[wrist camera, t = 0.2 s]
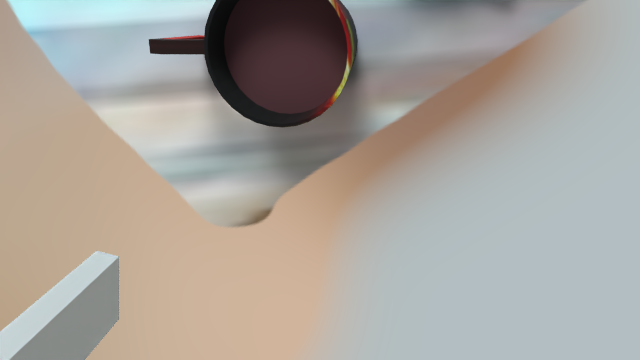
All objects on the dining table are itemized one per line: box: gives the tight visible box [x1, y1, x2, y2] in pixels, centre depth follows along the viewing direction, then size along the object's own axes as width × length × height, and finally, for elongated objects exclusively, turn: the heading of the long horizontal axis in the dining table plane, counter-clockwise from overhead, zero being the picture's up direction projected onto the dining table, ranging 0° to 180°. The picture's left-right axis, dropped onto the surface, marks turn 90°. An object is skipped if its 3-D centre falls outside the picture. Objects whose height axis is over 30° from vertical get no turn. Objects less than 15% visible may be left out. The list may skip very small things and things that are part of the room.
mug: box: [149, 0, 357, 127], centre depth 30 cm, size 10×14×12 cm
